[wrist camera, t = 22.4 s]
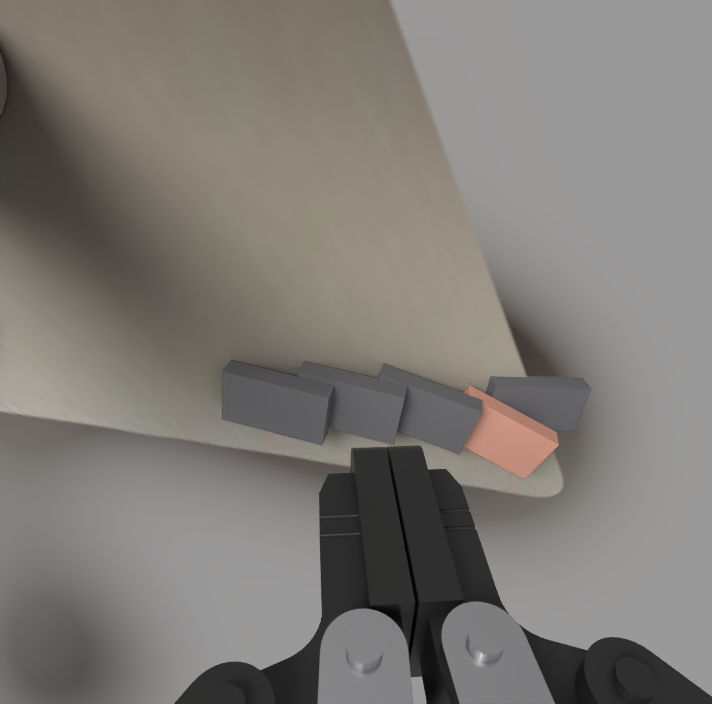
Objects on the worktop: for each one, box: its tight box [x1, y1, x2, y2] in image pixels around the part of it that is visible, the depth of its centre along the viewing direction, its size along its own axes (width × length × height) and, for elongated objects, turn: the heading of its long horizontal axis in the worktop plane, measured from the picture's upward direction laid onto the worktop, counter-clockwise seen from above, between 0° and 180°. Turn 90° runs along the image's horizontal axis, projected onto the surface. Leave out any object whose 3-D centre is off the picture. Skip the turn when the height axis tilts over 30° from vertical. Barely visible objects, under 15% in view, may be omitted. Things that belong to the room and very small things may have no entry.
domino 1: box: [222, 360, 334, 445], centre depth 44 cm, size 2×5×9 cm
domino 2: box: [298, 361, 407, 445], centre depth 44 cm, size 2×5×9 cm
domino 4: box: [486, 376, 591, 431], centre depth 48 cm, size 2×5×9 cm
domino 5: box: [464, 385, 559, 479], centre depth 47 cm, size 2×5×9 cm
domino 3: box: [378, 364, 482, 454], centre depth 45 cm, size 2×5×9 cm
